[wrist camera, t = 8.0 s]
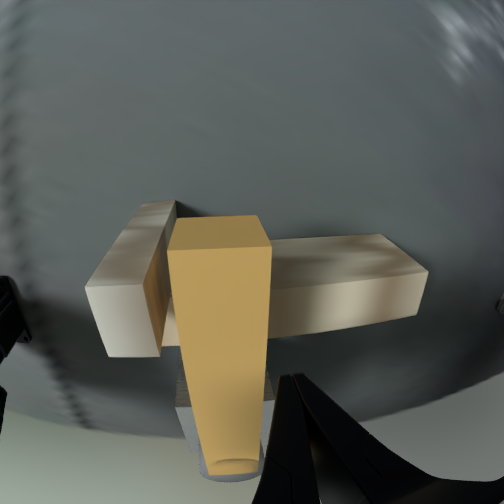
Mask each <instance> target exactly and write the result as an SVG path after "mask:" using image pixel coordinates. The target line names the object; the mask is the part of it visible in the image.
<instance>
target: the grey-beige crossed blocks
mask: <svg viewBox="0 0 504 504" xmlns="http://www.w3.org/2000/svg"><path fill="white" fill-rule="evenodd" d="M176 220H177V214H176V203H175V200H173V201H161V202H150V203H143V204H142V206H141V207H140V208H139V210H138V211H137V212H136V214H135V215H134V216H133V218H132V219H131V220H130V222H129V223H128V224H127V226H126V227H125V228H124V230H123V231H122V232H121V234H120V235H119V237H118V238H117V239H116V241H115V242H114V244H113V245H112V247H111V248H110V249H109V251H108V252H107V254H106V255H105V257H104V258H103V260H102V261H101V263H100V264H99V266H98V267H97V269H96V270H95V272H94V273H93V275H92V276H91V278H90V279H89V281H88V283H87V284H86V286H85V290H86V293H87V296H88V300H89V303H90V306H91V309H92V312H93V315H94V318H95V321H96V324H97V327H98V330H99V332H100V335H101V338H102V341H103V343H104V346H105V348H106V351H107V354H108V356H109V357H160V353H161V347H162V346H180V342H179V336H178V330H177V324H176V317H175V311H174V304H173V297H172V289H171V281H170V273H169V265H168V256H167V249H168V246H169V242H170V239H171V236H172V232H173V229H174V226H175V223H176ZM269 241H270V243H271V245H272V259H271V280H270V299H269V318H268V335H267V339H271V338H280V337H288V336H296V335H304V334H311V333H318V332H325V331H332V330H338V329H344V328H350V327H356V326H362V325H368V324H373V323H378V322H384V321H389V320H394V319H399V318H403V317H408V316H413V315H416V314H417V311H418V308H419V305H420V301H421V298H422V295H423V291H424V287H425V284H426V280H427V276H428V271H427V270H426V269H425V268H423V267H422V266H421V265H420V264H418V263H417V262H416V261H415V260H414V259H412V258H411V257H410V256H409V255H407V254H406V253H405V252H403V251H402V250H401V249H400V248H398V247H397V246H396V245H394V244H393V243H392V242H391V241H389V240H388V239H387V238H385V237H384V236H383V235H381V234H368V235H350V236H332V237H314V238H297V239H281V240H269Z"/></svg>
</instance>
